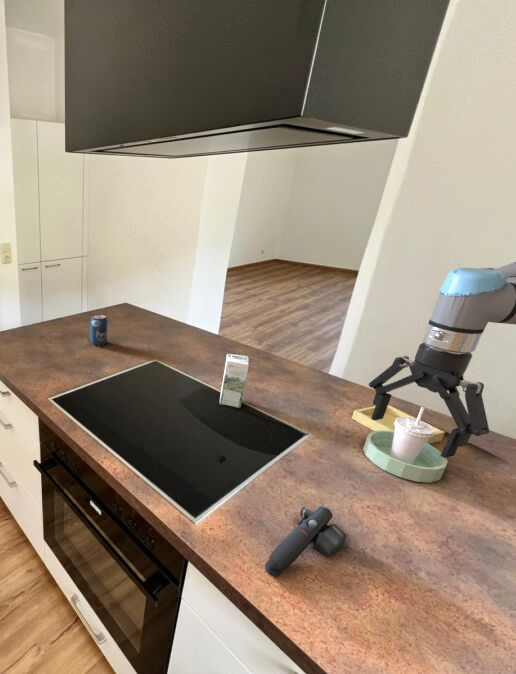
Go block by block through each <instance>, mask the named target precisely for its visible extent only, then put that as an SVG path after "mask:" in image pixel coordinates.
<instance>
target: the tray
mask: <svg viewBox="0 0 516 674" xmlns="http://www.w3.org/2000/svg"><path fill="white" fill-rule="evenodd" d="M375 407H376V405H373V406H368V407H363V408H359V409H354V410H353V414H352V416H351V419H352V420H354V421H355V420H356V421H355V422H357V423H359V424H361V425H363V426H365V427H366V428H368V429H370V430H372V432H374V431H378V430H381V431H393V432H395V427H396V426H395V424H394V422H395V421H396V419H397V418H399V417H407V418H413V419H416V420H417V417H415V416H413V415H411V414H409V413H407V412H404V411H402V410H400V409H398V408H397V407H394V406H392V405H390V404H388V406H387V409H386V412H385V414H384V417H383V419H379V420H375V421H374V420H372V419H371V418H372V415H373V412H374V409H375ZM420 421H422V422H424V423H426V424H428V425H430V426H431V427H432V428H433V429H434V430H435V432H434V436H433V437H430V438H429V440H428V441H427V444H429V445H432V444H434V443H438V442H442V440H443V438H444V436H445V433H446V431H444V430H442V429H441V428H438V427H436V426H434V425H432V424H429V423H427V422H425V421H423V420H421V419H420Z"/></svg>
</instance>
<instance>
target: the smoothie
mask: <svg viewBox="0 0 516 674" xmlns="http://www.w3.org/2000/svg"><path fill="white" fill-rule="evenodd" d="M425 409H426V407H425V406H421V407H420V409H419V412H418V415H417V417H416V418H417V420H416V419H413V418H407V417H399V418H397V419H396V421H395V422H394V424H395V426H396V427H395V432H394V437H393V443H392V448H391V454H390V457H392V458H395V459H397V460H400V461H402V462H405V463H408V464H412V463H413V462H414V460H415V459H416V457H417V456H418V454H419V453H420V451H421V450H422V449H423V447H424V446H425V444H426V443H427V441H428V440H429V438H430V437H433V436H434V432H435V430H434V429H433V428H432V427H431V426H430V425H431V424H430V425H428V424H429V423H428V424H426V423H427V422H425V421H423V420H421V419H422V416H423V414H424V412H425ZM420 420H421V421H420ZM422 421H423V422H422ZM424 422H425V423H424Z"/></svg>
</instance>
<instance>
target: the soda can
mask: <svg viewBox="0 0 516 674" xmlns="http://www.w3.org/2000/svg"><path fill="white" fill-rule="evenodd" d="M89 323H90V326H89V335H90V336H89V342H90V344H91V345H92V344H93V345H92V346H94V345H98V346H97V347H101V346H100V345H103V346H105V345H106V343H107V342H108V319H107V315H105V314H100V313H99V314H98V313H97V314H93V315H92V316H91V318H90V320H89ZM104 344H105V345H104Z"/></svg>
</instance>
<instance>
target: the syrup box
mask: <svg viewBox="0 0 516 674" xmlns="http://www.w3.org/2000/svg"><path fill="white" fill-rule="evenodd" d="M249 362H250V361H249V356H248V355H241V354H232V353H227V354H226V358H225V364H224V365H225V366H224V372H223V377H222V385H221V389H220V397H219V405H221V406H227V407H232V408H237V409H241V407H242V402H243V398H244V397H243V396H244V392H245V387H246V383H247V376H248V371H249V366H250V364H249Z"/></svg>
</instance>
